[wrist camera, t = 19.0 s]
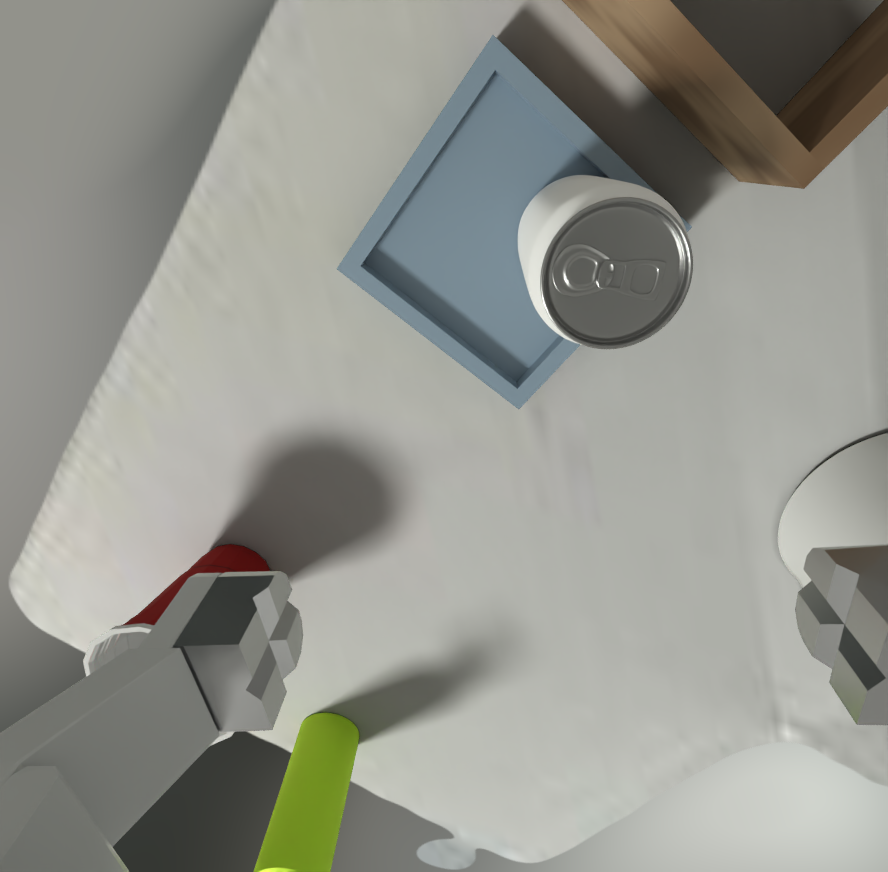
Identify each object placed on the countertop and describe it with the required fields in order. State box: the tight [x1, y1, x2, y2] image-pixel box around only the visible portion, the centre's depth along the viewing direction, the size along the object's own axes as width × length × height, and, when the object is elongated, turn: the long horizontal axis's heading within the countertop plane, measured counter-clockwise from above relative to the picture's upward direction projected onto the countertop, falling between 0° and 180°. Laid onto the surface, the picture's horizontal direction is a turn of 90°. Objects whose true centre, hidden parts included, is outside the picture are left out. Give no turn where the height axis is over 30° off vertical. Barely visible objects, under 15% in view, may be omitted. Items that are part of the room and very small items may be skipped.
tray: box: [337, 35, 692, 409], centre depth 32 cm, size 14×14×2 cm
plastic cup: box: [83, 544, 270, 745], centre depth 41 cm, size 11×11×12 cm
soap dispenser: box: [254, 713, 359, 872], centre depth 46 cm, size 6×7×20 cm
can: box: [518, 175, 693, 349], centre depth 26 cm, size 6×6×12 cm
